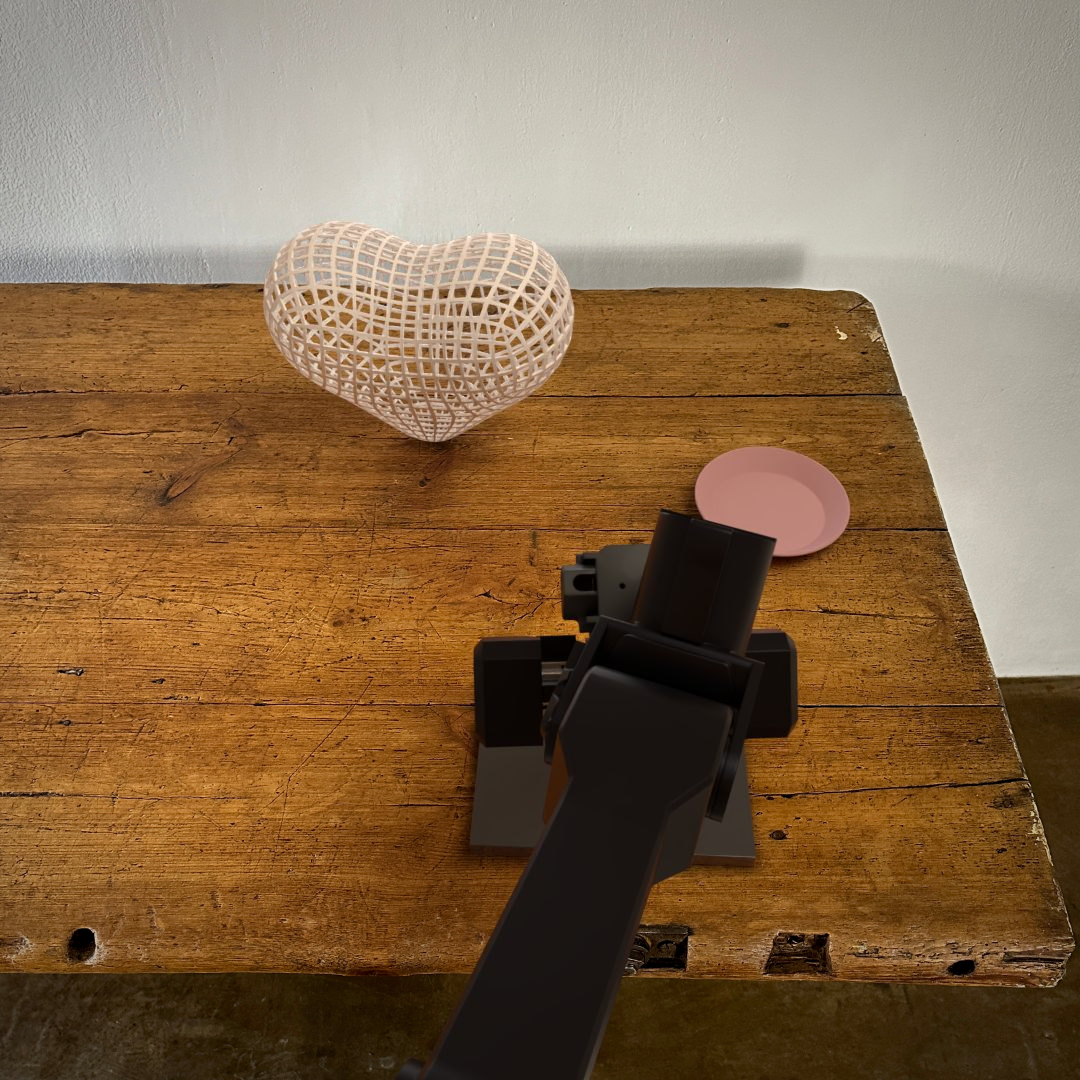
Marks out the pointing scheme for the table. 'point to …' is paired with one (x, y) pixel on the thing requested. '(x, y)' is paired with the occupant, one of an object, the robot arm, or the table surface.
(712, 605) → the robot arm
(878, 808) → the table surface
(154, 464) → the table surface
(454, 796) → the table surface
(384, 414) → the heart
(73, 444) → the table surface
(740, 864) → the serving board
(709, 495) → the plate
